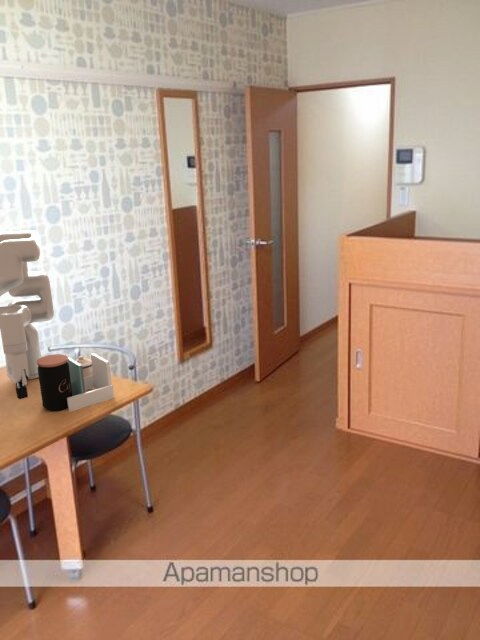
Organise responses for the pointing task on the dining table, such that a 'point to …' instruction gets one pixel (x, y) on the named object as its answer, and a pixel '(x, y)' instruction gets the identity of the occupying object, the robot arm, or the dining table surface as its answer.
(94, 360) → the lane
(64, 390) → the coffee jar
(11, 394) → the dining table surface
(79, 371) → the plate
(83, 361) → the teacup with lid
